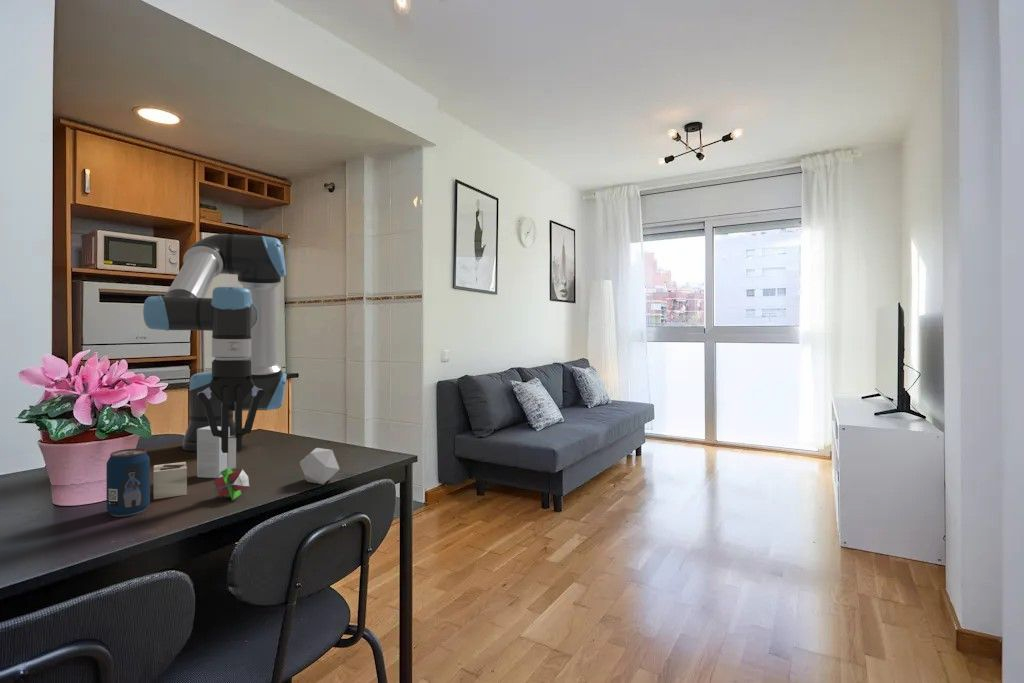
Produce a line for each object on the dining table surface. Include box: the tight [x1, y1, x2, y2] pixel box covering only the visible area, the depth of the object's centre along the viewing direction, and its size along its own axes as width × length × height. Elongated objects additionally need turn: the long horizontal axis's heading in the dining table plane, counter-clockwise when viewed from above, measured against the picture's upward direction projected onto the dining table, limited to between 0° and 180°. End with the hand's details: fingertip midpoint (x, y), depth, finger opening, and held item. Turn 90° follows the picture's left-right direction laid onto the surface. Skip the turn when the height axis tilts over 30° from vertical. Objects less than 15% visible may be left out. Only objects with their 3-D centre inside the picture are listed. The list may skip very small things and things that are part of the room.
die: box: [298, 447, 341, 485], centre depth 123 cm, size 8×9×10 cm
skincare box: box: [196, 426, 230, 479], centre depth 126 cm, size 6×4×12 cm
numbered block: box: [153, 461, 188, 500], centre depth 113 cm, size 6×6×6 cm
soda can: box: [105, 448, 151, 518], centre depth 102 cm, size 7×7×12 cm
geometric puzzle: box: [212, 467, 251, 501], centre depth 111 cm, size 7×7×8 cm
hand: (231, 466), depth 111 cm, fingers closed
